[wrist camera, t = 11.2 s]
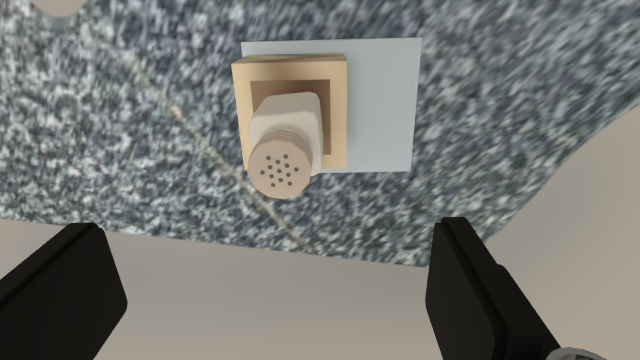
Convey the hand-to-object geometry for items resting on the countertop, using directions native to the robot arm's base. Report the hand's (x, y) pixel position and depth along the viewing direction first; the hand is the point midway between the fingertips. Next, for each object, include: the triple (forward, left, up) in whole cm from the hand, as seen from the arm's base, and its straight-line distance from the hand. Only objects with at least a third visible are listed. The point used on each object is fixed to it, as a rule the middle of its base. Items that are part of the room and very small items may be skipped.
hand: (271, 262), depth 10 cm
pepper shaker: (+1, +1, -18) cm, 18 cm away
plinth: (+1, +1, -23) cm, 23 cm away
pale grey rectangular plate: (-2, +2, -24) cm, 24 cm away
